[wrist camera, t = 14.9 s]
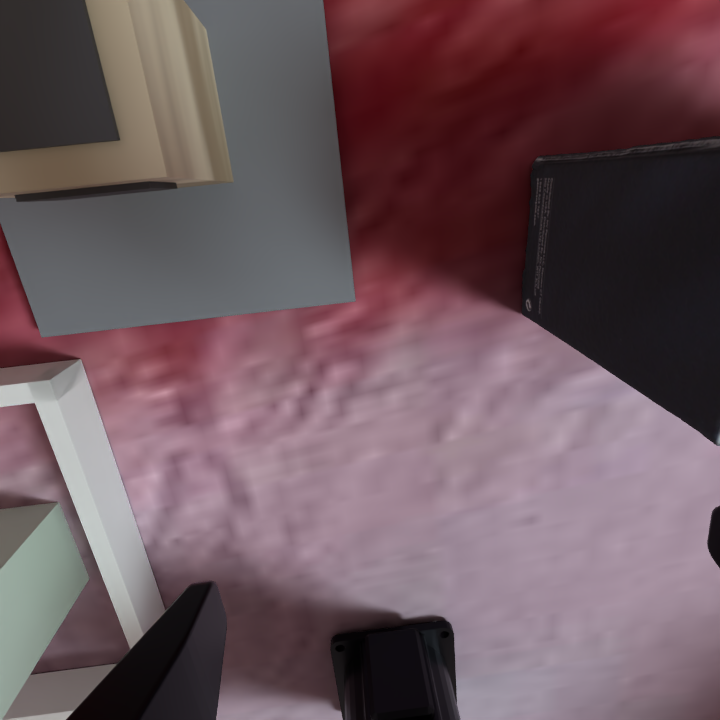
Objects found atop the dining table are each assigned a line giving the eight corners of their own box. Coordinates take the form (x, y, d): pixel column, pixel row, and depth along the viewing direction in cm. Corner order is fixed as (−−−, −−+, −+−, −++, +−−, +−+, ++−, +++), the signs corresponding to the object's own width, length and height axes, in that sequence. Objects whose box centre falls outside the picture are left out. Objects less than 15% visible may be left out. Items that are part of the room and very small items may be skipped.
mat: (354, 297, 18) (355, 301, 18) (50, 332, 18) (41, 337, 18) (303, -172, 13) (302, -188, 13) (-114, -134, 13) (-134, -148, 13)
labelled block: (206, 29, 14) (99, -109, 8) (234, 186, 16) (167, 184, 9) (61, 43, 14) (-173, -86, 8) (105, 200, 16) (-57, 207, 9)
